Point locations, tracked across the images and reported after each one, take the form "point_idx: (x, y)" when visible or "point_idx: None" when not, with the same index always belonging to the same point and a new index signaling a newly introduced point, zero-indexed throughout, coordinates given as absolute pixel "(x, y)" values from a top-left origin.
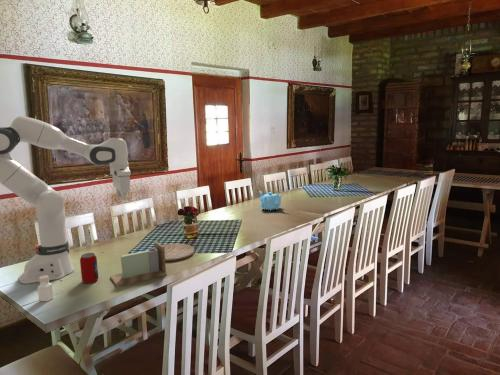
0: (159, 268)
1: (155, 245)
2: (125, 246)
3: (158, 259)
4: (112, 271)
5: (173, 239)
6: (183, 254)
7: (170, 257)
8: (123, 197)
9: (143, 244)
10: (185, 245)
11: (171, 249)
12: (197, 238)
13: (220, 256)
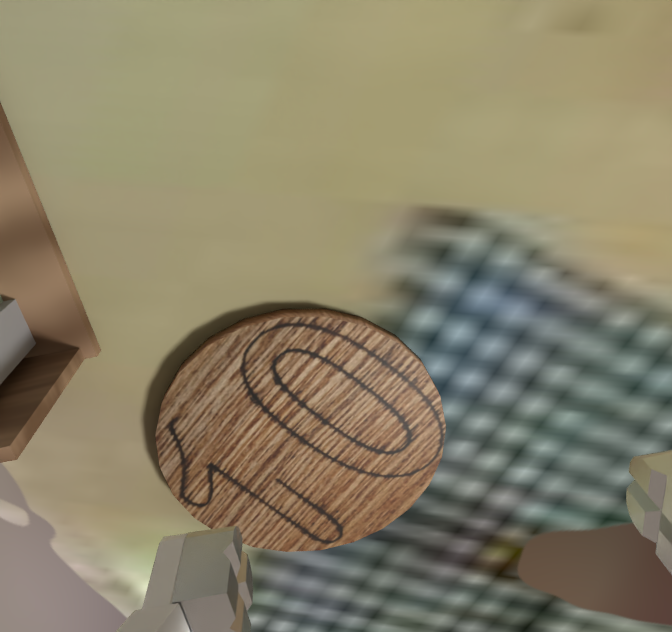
0: (23, 359)
1: (8, 432)
2: (612, 200)
3: (4, 388)
4: (110, 71)
5: (556, 478)
6: (210, 496)
7: (186, 434)
8: (157, 604)
9: (575, 316)
10: (363, 523)
11: (331, 454)
12: (492, 578)
13: None
